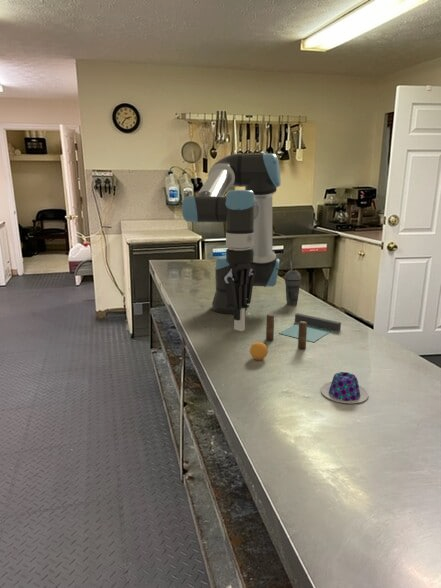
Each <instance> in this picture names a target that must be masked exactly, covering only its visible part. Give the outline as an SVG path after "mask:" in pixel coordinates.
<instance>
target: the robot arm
mask: <svg viewBox="0 0 441 588" xmlns="http://www.w3.org/2000/svg"><path fill="white" fill-rule="evenodd" d="M281 180H282V179H281V168H280V161H279V158H278V156H277V155H276V154H275V153H266V152H257V153H233V154H230V155H226V156H225V157H222V158H221V159H219V160H218V161H217V162H215V163H214V164H213V165H212V166H211V167H210V169H209V171H208V175H207V179H206V180H205V182H204V183H203V185H202V186H201V188H200V189H199V191H198V192H197V194H196V196H194V195H191V196H190V195H189V196H185V197H184V198H183V199H182V204H181V214H182V217H183V220H184V221H185V222H189V223H196V224H197V223H226V224H225V225H226V227H225V229H226V231H225V247H226V250H225V254H224V255H221V256H218V257H217V259H215V268H214V270H215V293H214V296H213V300H212V302H211V309H212V310H213V311H214V312H216V313H219V314H220V313H221V314H233V320H234V321H233V325H234V326H233V330H236V331H239V332H243V331H245V330H246V311H247V310H248V309H249V307H250V304H251V301H252V295H253V287H264V288H266V287H267V288H268V287H269V288H270V287H271V288H272V287H274V286H276V285H277V282H278V281H277V280H278V274H279V269H280V262H281V260H280V258H277V255H276V253H275V252H274V250H273V196H274V194H275V193H276V192H277V188H279V187H280V186H281V182H282V181H281ZM232 187H235V188H236V187H239V188H240V187H242V188H243V187H244V189H233V190H232V189H231V190H230V189H229V188H232ZM224 195H225V196H224Z"/></svg>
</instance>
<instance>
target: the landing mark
mask: <svg viewBox="0 0 441 588" xmlns="http://www.w3.org/2000/svg"><path fill="white" fill-rule="evenodd" d="M298 333H299V323H298V322H296V324H294V325H292V326H289V327H287V328H286V329H284V330H282V331H280V332H279V333H278V334H279V335H283V336H287V337H290V338H294V339H298ZM330 333H332V330H328V329H324V328H320V327H315V326H311V325H307V334H306V342H311V343H316V341H317V342H318V340H320V339H322V338H323V337H325V336H326V335H328V334H330Z"/></svg>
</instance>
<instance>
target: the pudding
mask: <svg viewBox="0 0 441 588" xmlns="http://www.w3.org/2000/svg"><path fill="white" fill-rule="evenodd" d="M320 392H321V393H322V395H324V396H325V398H328V399H329V400H330V401H333V402H338V403H342V404H358V403H362V402H364V401H366V400H368V398H369V392H368V391H367V389H365V388H364V387H363V386H361V385H359V381H358V377H356V375H355V374H353V373H350V372H347V371H346V372H343V371H339V372H336V373H335V374H334V375H333V377H332V380H331V381H329V382H327V383H325V384H323V385H322V386H321V387H320ZM331 396H332V397H331ZM358 398H359V399H358ZM341 399H342V400H341ZM343 401H345V402H343Z"/></svg>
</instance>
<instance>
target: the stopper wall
mask: <svg viewBox="0 0 441 588" xmlns="http://www.w3.org/2000/svg"><path fill="white" fill-rule="evenodd" d="M294 315H295V316H294V323H299V322H300V321H304V322H307V325H309V326H313V327H317V328H322V329H326V330H331V331H332V332H333V331H334V332H338V333H339V332H340V331H341V327H342V326H341V325H342V322H340V321H335V320H331V319H326V318H321V317H316V316H311V315H308V314H302V313H296V314H294Z"/></svg>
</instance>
